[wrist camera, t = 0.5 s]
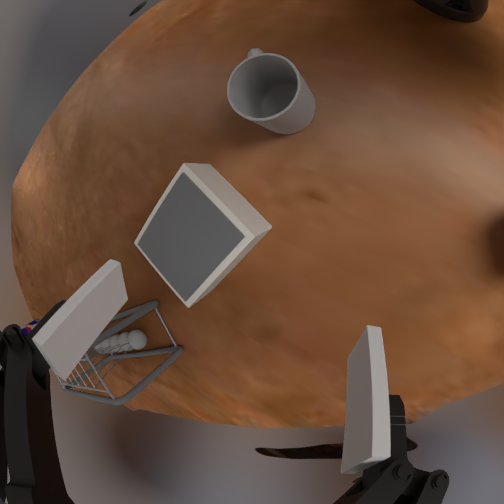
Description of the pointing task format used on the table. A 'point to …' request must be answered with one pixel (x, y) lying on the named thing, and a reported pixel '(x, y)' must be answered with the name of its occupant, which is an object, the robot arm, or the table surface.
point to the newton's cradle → (122, 355)
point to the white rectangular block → (199, 231)
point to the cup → (271, 93)
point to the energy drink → (29, 327)
